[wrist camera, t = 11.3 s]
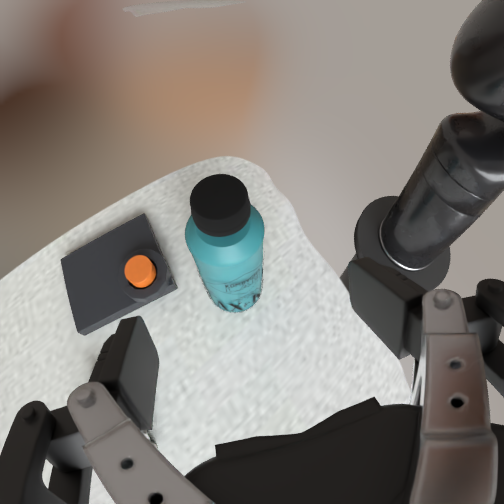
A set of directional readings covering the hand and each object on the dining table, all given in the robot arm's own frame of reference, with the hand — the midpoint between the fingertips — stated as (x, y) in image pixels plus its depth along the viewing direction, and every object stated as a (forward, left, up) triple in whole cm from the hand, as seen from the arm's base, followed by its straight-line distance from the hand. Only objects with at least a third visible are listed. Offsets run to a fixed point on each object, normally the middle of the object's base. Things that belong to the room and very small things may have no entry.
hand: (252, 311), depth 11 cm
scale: (+12, -19, -25) cm, 33 cm away
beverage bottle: (-2, -9, -25) cm, 26 cm away
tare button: (+7, -15, -22) cm, 27 cm away
